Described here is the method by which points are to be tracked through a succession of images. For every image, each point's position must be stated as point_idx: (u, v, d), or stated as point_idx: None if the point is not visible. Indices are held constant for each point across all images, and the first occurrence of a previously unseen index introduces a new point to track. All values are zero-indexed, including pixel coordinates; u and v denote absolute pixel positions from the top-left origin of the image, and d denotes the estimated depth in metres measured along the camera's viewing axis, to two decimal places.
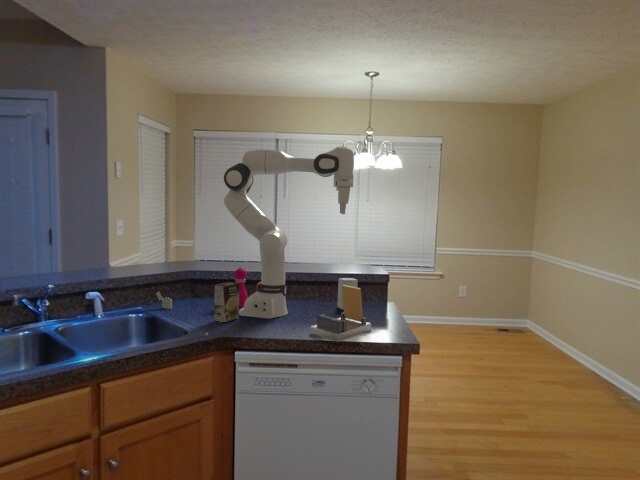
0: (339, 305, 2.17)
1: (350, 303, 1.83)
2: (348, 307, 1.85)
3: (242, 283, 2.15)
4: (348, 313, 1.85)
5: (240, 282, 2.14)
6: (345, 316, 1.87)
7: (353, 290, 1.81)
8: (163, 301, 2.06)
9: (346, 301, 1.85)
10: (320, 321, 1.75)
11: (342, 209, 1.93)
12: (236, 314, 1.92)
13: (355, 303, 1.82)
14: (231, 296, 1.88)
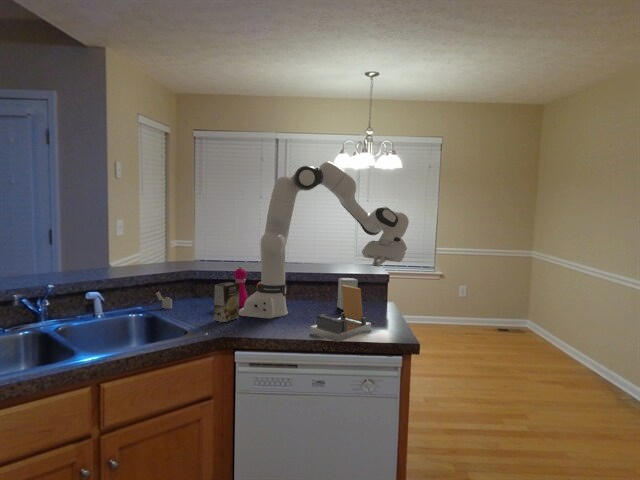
0: (339, 305, 2.17)
1: (350, 303, 1.83)
2: (348, 307, 1.85)
3: (242, 283, 2.15)
4: (348, 313, 1.85)
5: (240, 282, 2.14)
6: (345, 316, 1.87)
7: (353, 290, 1.81)
8: (163, 301, 2.06)
9: (346, 301, 1.85)
10: (320, 321, 1.75)
11: (380, 261, 1.94)
12: (236, 314, 1.92)
13: (355, 303, 1.82)
14: (231, 296, 1.88)
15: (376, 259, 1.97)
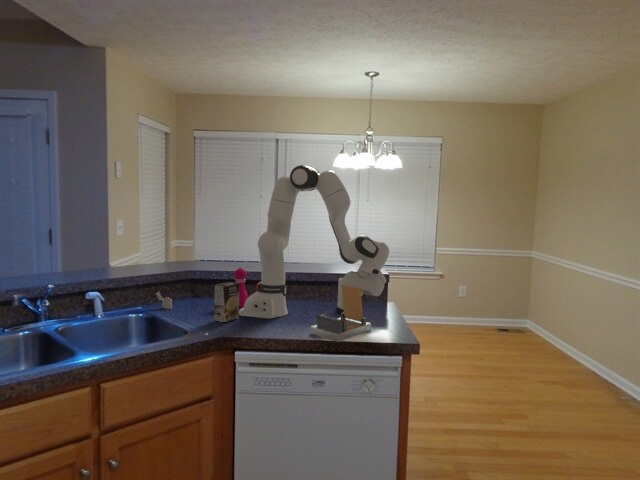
0: (339, 305, 2.17)
1: (350, 303, 1.83)
2: (348, 307, 1.85)
3: (242, 283, 2.15)
4: (348, 313, 1.85)
5: (240, 282, 2.14)
6: (345, 316, 1.87)
7: (353, 290, 1.81)
8: (163, 301, 2.06)
9: (346, 301, 1.85)
10: (320, 321, 1.75)
11: None
12: (236, 314, 1.92)
13: (355, 303, 1.82)
14: (231, 296, 1.88)
15: None
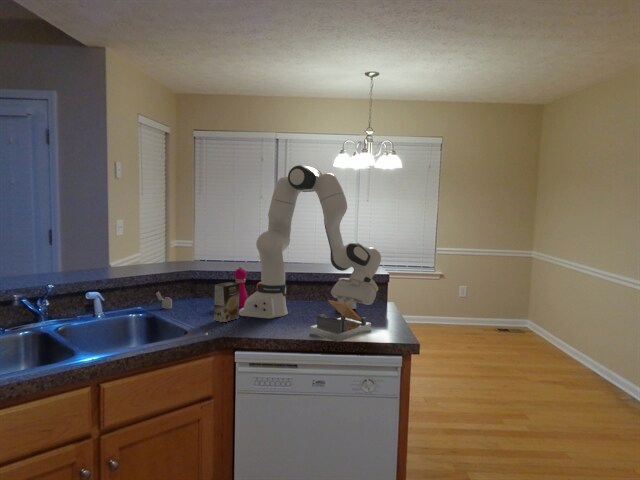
0: None
1: (344, 311, 1.81)
2: (344, 313, 1.83)
3: (242, 283, 2.15)
4: (346, 316, 1.85)
5: (240, 282, 2.14)
6: (345, 317, 1.87)
7: (341, 305, 1.75)
8: (163, 301, 2.06)
9: (339, 310, 1.82)
10: (320, 321, 1.75)
11: (350, 304, 1.79)
12: (236, 314, 1.92)
13: (348, 312, 1.79)
14: (231, 296, 1.88)
15: (345, 301, 1.82)
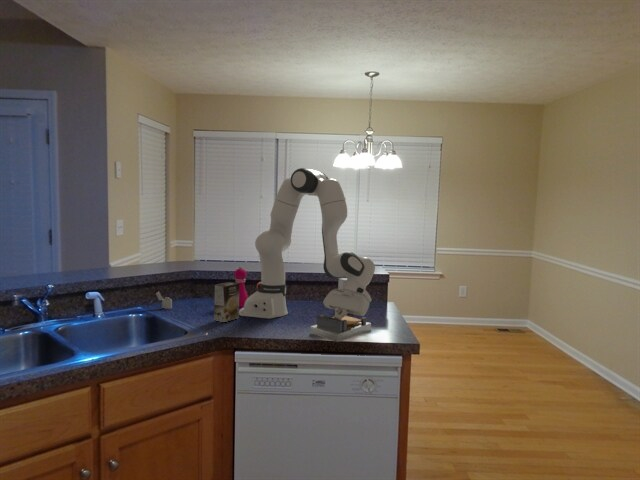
0: None
1: None
2: None
3: (242, 283, 2.15)
4: None
5: (240, 282, 2.14)
6: None
7: None
8: (163, 301, 2.06)
9: None
10: (320, 321, 1.75)
11: (342, 315, 1.76)
12: (236, 314, 1.92)
13: None
14: (231, 296, 1.88)
15: (338, 311, 1.79)
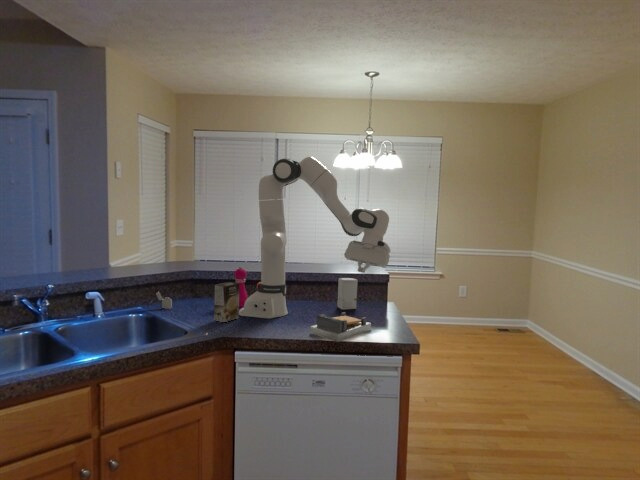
0: (339, 305, 2.17)
1: None
2: None
3: (242, 283, 2.15)
4: None
5: (240, 282, 2.14)
6: None
7: None
8: (163, 301, 2.06)
9: None
10: (320, 321, 1.75)
11: (366, 267, 1.91)
12: (236, 314, 1.92)
13: None
14: (231, 296, 1.88)
15: (360, 264, 1.93)
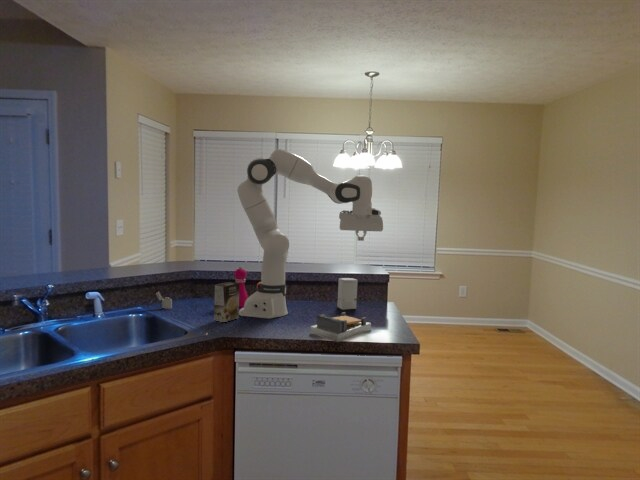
0: (339, 305, 2.17)
1: None
2: None
3: (242, 283, 2.15)
4: None
5: (240, 282, 2.14)
6: None
7: None
8: (163, 301, 2.06)
9: None
10: (320, 321, 1.75)
11: (364, 236, 2.04)
12: (236, 314, 1.92)
13: None
14: (231, 296, 1.88)
15: None
